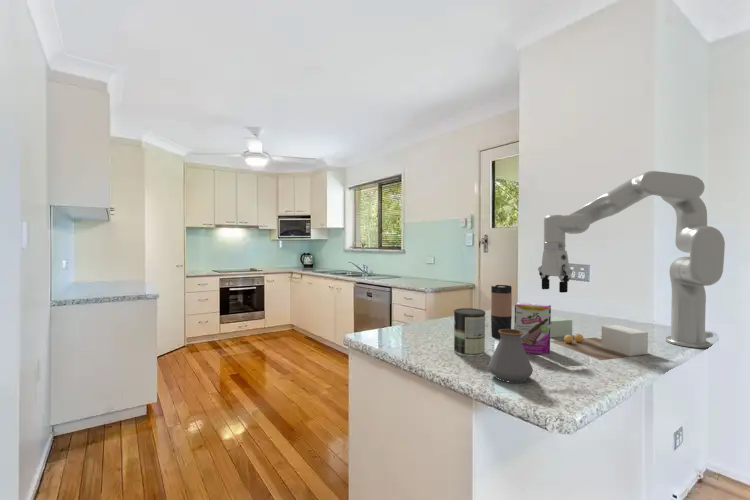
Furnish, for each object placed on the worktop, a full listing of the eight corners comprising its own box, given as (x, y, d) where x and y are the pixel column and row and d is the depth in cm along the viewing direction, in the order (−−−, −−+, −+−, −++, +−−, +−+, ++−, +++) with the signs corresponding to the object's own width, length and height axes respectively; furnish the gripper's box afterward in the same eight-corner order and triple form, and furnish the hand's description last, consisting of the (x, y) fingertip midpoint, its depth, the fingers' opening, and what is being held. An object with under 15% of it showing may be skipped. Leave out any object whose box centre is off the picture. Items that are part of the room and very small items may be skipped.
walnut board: (595, 340, 141) (595, 337, 141) (652, 357, 120) (652, 354, 120) (549, 343, 136) (549, 341, 136) (600, 363, 115) (600, 359, 115)
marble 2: (579, 341, 136) (579, 332, 136) (585, 343, 133) (585, 334, 133) (572, 341, 136) (572, 333, 136) (578, 343, 133) (578, 335, 133)
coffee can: (449, 354, 125) (449, 311, 124) (459, 346, 133) (459, 307, 133) (480, 359, 119) (480, 315, 119) (488, 350, 128) (488, 309, 128)
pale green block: (558, 333, 151) (559, 316, 151) (572, 337, 145) (572, 319, 144) (535, 335, 149) (535, 317, 148) (547, 339, 142) (548, 321, 142)
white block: (601, 346, 130) (601, 326, 129) (617, 344, 131) (617, 324, 131) (630, 355, 119) (630, 333, 119) (647, 353, 121) (647, 332, 121)
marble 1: (568, 341, 135) (569, 333, 135) (575, 344, 132) (575, 335, 132) (561, 342, 134) (562, 334, 134) (568, 344, 132) (568, 336, 131)
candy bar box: (513, 352, 126) (514, 304, 125) (514, 348, 130) (515, 302, 130) (550, 357, 121) (551, 306, 120) (550, 352, 125) (550, 304, 125)
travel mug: (512, 339, 142) (513, 287, 141) (491, 338, 143) (492, 286, 143) (509, 334, 149) (510, 285, 149) (489, 334, 151) (490, 284, 150)
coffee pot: (511, 389, 95) (511, 330, 95) (479, 374, 105) (479, 321, 105) (566, 375, 105) (566, 321, 104) (532, 363, 115) (532, 314, 115)
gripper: (579, 247, 138) (579, 293, 139) (547, 246, 155) (546, 287, 155) (562, 247, 136) (562, 294, 137) (531, 246, 153) (531, 288, 154)
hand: (554, 290), depth 146 cm, fingers open, 9 cm apart
